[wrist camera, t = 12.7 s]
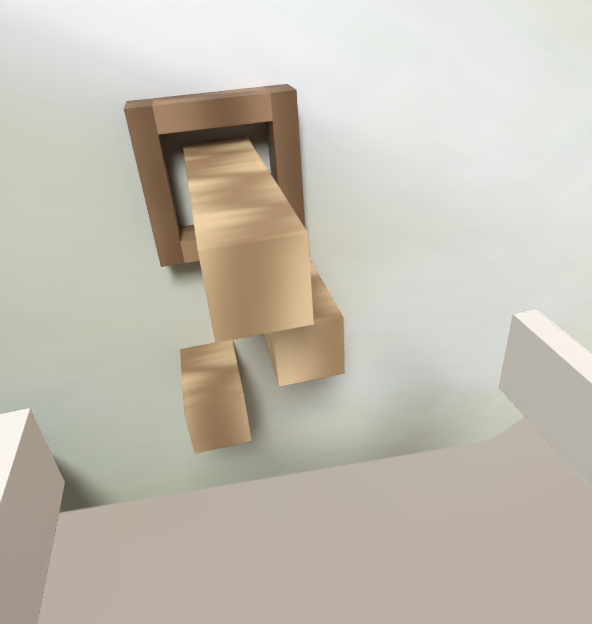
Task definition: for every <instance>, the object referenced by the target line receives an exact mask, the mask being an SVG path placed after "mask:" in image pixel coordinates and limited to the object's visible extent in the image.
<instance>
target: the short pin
mask: <svg viewBox="0 0 592 624" xmlns="http://www.w3.org/2000/svg"><path fill="white" fill-rule="evenodd" d="M180 353H181V371H182V390H183V408H184V414H185V418H186V422H187V426H188V430H189V434H190V438H191V441H192V445H193V449H194V453H199V452H204V451H208V450H213V449H218V448H222V447H227V446H231V445H236V444H240V443H245V442H250V441H252V440H251V434H250V428H249V422H248V416H247V410H246V404H245V398H244V393H243V389H242V384H241V379H240V374H239V370H238V365H237V360H236V355H235V350H234V346H233V341H232V340H227V341H222V342H217V343H211V344H206V345H201V346H195V347H190V348H185V349H180Z"/></svg>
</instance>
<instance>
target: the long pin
mask: <svg viewBox="0 0 592 624" xmlns="http://www.w3.org/2000/svg"><path fill="white" fill-rule="evenodd" d="M183 150H184V157H185V164H186V171H187V178H188V186H189V193H190V200H191V207H192V214H193V221H194V228H195V235H196V242H197V249H198V255H199V260H200V265H201V270H202V275H203V281H204V286H205V291H206V296H207V302H208V307H209V312H210V317H211V322H212V328H213V333H214V338H215V343H217V342H222V341H227V340H233V339H238V338H244V337H249V336H254V335H260V334H265V333H271V332H276V331H281V330H287V329H292V328H297V327H303V326H308V325H314V320H313V304H312V288H311V272H310V256H309V240H308V232H307V231H306V229H305V227H304V226H303V224H302V223H301V221H300V219H299V218H298V216H297V215H296V213H295V212H294V210H293V208H292V207H291V205H290V204H289V202H288V201H287V199H286V197H285V196H284V194H283V193H282V191H281V189H280V188H279V186H278V185H277V183H276V182H275V180H274V178H273V177H272V175H271V174H270V172H269V171H268V169H267V167H266V166H265V164H264V163H263V161H262V159H261V158H260V156H259V155H258V153H257V152H256V150H255V148H254V147H253V145H252V144H251V142H250V140H249V139H248V137H239V138H231V139H223V140H215V141H207V142H199V143H191V144H183Z"/></svg>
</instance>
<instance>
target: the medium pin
mask: <svg viewBox="0 0 592 624" xmlns="http://www.w3.org/2000/svg"><path fill="white" fill-rule="evenodd" d="M310 272H311V288H312V304H313V320H314V325H308V326H303V327H297V328H292V329H287V330H281V331H276V332H271V333H265V334H263V335H264V339H265V342H266V345H267V348H268V352H269V355H270V358H271V362H272V365H273V368H274V371H275V375H276V378H277V381H278V385H279V386H284V385H289V384H294V383H299V382H304V381H309V380H314V379H319V378H324V377H329V376H334V375H339V374H344V373H345V371H344V324H343V316H342V314H341V312H340V311H339V309H338V307H337V305H336V304H335V302H334V300H333V298H332V297H331V295H330V293H329V291H328V290H327V288H326V286H325V285H324V283H323V281H322V279H321V278H320V276H319V274H318V272H317V271H316V269H315V267H314V265H313V264H312V262H311V260H310Z"/></svg>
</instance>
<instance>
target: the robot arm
mask: <svg viewBox="0 0 592 624" xmlns="http://www.w3.org/2000/svg"><path fill="white" fill-rule="evenodd" d="M499 388H500V389H501V391H502V392H503V393H504V394H505V395H506V396H507V397H508V399H509V400H510V401H511V402H512V403H513V404H514V405H515V406H516V408H517V409H518V410H519V411H520V412H521V413H522V414H523V416H524V417H525V418H526V419H527V420H528V421H529V422H530V423H531V424H532V426H533V427H534V428H535V429H536V430H537V431H538V432H539V434H540V435H541V436H542V437H543V438H544V439H545V440H546V442H547V443H548V444H549V445H550V446H551V447H552V448H553V449H554V451H555V452H556V453H557V454H558V455H559V456H560V457H561V458H562V460H563V461H564V462H565V463H566V464H567V465H568V466H569V467H570V469H571V470H572V471H573V472H574V473H575V474H576V476H577V477H578V478H579V479H580V480H581V481H582V482H583V483H584V485H585V486H586V487H587V488H588V489H589V490H590V491H591V492H592V354H591V353H590V352H589V351H588V350H586V349H585V348H584V347H583V346H581V345H580V344H579V343H578V342H576V341H575V340H574V339H573V338H572V337H570V336H569V335H568V334H567V333H565V332H564V331H563V330H562V329H560V328H559V327H558V326H557V325H556V324H554V323H553V322H552V321H551V320H549V319H548V318H547V317H546V316H544V315H543V314H542V313H541V312H540V311H538V310H537V309H536V310H531V311H526V312H521V313H516V314H513V316H512V321H511V326H510V332H509V337H508V342H507V347H506V352H505V358H504V363H503V368H502V373H501V378H500V384H499ZM64 485H65V482H64V479H63V477H62V475H61V473H60V471H59V469H58V467H57V465H56V462H55V460H54V458H53V456H52V454H51V452H50V450H49V447H48V445H47V443H46V441H45V439H44V437H43V435H42V433H41V430H40V428H39V426H38V424H37V422H36V420H35V418H34V415H33V413H32V411H31V409H30V408H29V409H24V410H19V411H14V412H9V413H4V414H0V624H37V623H38V618H39V613H40V608H41V602H42V598H43V592H44V587H45V582H46V577H47V572H48V567H49V562H50V556H51V551H52V546H53V541H54V536H55V531H56V526H57V521H58V516H59V511H60V505H61V500H62V495H63V490H64Z"/></svg>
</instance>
